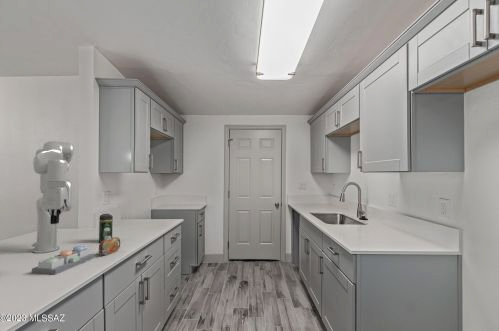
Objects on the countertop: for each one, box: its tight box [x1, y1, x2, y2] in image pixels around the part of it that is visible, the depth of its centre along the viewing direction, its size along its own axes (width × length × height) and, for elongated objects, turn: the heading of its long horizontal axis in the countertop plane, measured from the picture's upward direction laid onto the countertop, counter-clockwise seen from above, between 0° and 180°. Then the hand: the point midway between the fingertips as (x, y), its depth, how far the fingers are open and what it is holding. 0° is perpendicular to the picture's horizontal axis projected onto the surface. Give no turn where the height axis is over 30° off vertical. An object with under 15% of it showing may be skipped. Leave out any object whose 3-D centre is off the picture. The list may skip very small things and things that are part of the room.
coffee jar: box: [98, 213, 114, 244], centre depth 182 cm, size 10×8×19 cm
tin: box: [98, 236, 121, 257], centre depth 155 cm, size 15×3×8 cm, turn 168°
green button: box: [44, 257, 58, 262], centre depth 126 cm, size 5×5×3 cm
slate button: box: [72, 245, 85, 252], centre depth 142 cm, size 5×5×3 cm
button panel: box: [31, 248, 95, 275], centre depth 134 cm, size 25×12×5 cm, turn 173°
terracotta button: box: [59, 249, 73, 257], centre depth 134 cm, size 5×5×3 cm
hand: (54, 223), depth 129 cm, fingers closed
